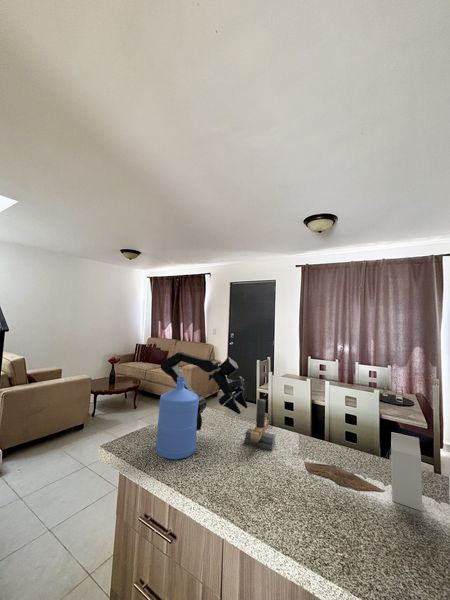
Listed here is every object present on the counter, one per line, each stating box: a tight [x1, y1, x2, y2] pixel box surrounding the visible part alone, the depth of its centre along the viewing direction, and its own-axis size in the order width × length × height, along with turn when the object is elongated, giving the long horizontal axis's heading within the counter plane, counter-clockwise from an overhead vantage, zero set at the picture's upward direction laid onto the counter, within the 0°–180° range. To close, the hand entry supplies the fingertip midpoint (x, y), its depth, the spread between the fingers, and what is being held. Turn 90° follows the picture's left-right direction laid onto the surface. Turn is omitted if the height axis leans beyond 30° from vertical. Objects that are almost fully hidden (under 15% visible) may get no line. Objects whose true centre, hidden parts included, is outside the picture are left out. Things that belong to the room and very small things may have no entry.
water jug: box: [155, 376, 199, 460], centre depth 100 cm, size 16×16×28 cm
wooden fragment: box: [304, 461, 385, 493], centre depth 87 cm, size 26×11×1 cm, turn 53°
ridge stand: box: [244, 428, 276, 452], centre depth 108 cm, size 12×6×4 cm, turn 66°
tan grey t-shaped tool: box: [250, 398, 270, 442], centre depth 109 cm, size 18×4×14 cm, turn 156°
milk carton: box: [390, 431, 423, 512], centre depth 77 cm, size 7×7×19 cm
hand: (243, 410), depth 113 cm, fingers open, 9 cm apart
